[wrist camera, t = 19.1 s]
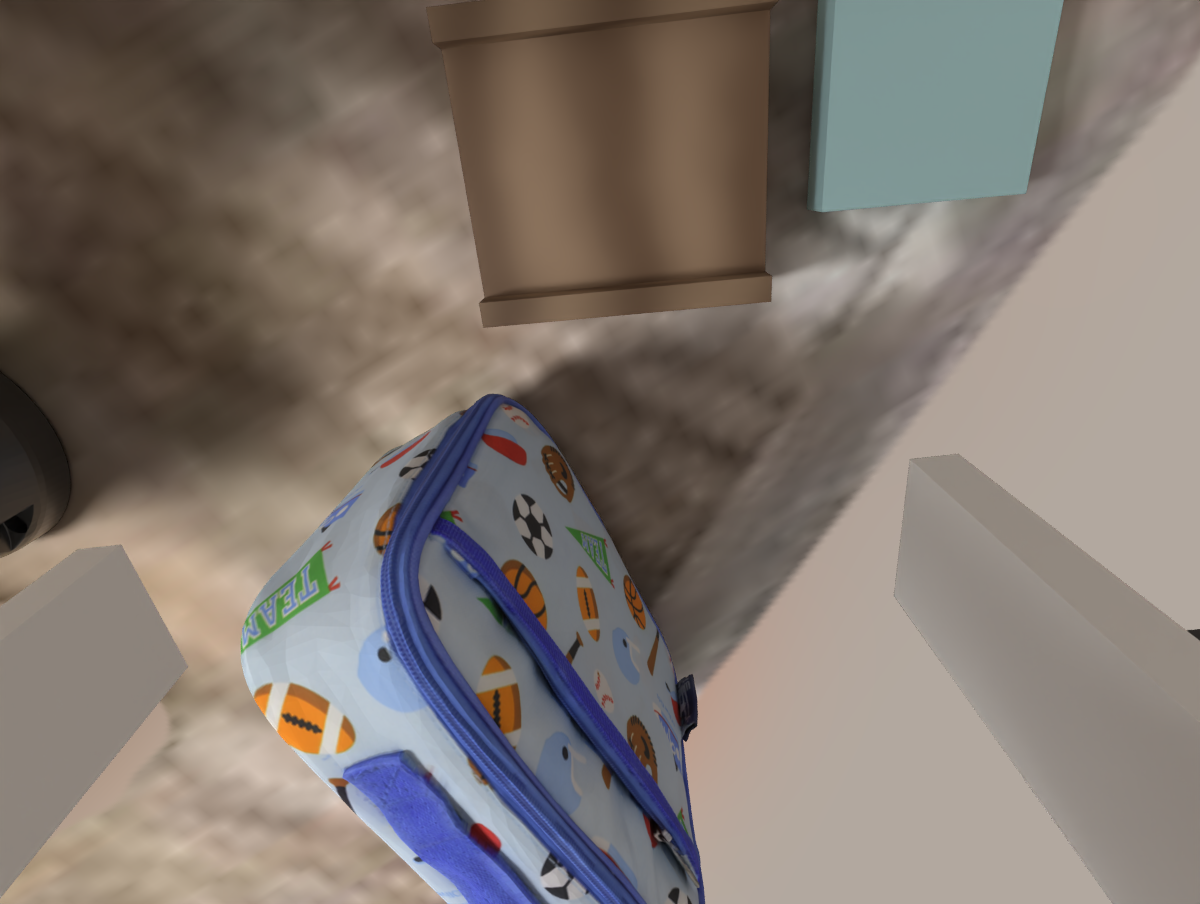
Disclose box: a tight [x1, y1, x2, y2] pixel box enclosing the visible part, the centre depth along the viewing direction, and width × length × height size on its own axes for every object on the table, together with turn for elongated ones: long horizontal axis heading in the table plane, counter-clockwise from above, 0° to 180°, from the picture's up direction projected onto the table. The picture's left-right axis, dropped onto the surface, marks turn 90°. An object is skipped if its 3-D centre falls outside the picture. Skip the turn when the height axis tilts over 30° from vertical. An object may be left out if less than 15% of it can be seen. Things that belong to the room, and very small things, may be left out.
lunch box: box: [241, 394, 705, 904], centre depth 31 cm, size 28×10×22 cm, turn 28°
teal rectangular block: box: [807, 0, 1064, 212], centre depth 27 cm, size 14×10×3 cm
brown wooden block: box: [426, 0, 779, 328], centre depth 29 cm, size 14×13×5 cm
